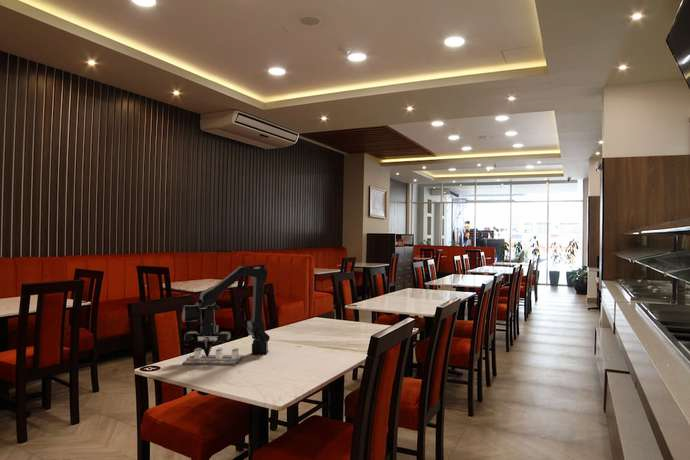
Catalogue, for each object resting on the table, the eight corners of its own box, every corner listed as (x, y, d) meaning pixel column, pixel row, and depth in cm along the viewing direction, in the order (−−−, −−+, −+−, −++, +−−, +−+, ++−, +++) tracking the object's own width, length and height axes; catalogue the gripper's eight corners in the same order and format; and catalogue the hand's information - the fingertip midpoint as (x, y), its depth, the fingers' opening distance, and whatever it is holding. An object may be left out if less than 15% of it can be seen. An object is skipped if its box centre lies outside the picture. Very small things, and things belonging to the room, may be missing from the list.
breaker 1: (201, 357, 200) (201, 348, 200) (198, 359, 197) (198, 349, 197) (197, 357, 200) (197, 347, 200) (194, 359, 197) (194, 349, 197)
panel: (243, 357, 204) (243, 353, 204) (235, 365, 191) (235, 361, 191) (193, 356, 205) (193, 352, 205) (182, 364, 192) (182, 360, 192)
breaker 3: (238, 357, 199) (238, 348, 199) (236, 359, 196) (236, 350, 196) (233, 357, 199) (233, 348, 199) (231, 359, 196) (231, 350, 196)
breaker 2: (222, 357, 200) (222, 348, 200) (220, 359, 196) (220, 350, 196) (217, 357, 200) (217, 348, 200) (215, 359, 196) (215, 350, 197)
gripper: (234, 316, 206) (234, 351, 206) (193, 316, 207) (193, 351, 207) (226, 321, 195) (226, 358, 195) (183, 320, 196) (183, 357, 195)
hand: (207, 355), depth 198 cm, fingers closed
